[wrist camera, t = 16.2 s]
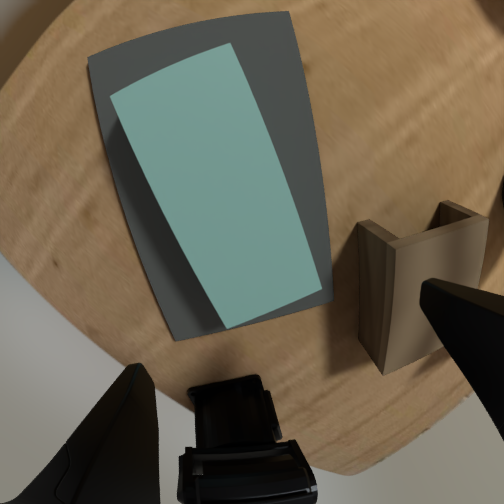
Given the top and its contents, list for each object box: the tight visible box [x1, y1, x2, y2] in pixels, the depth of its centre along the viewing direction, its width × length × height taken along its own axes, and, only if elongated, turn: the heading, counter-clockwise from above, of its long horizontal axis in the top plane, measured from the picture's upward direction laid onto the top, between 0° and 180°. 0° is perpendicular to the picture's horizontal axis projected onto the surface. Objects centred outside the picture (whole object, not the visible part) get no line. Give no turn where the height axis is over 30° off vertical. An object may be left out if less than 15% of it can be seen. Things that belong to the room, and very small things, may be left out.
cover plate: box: [110, 43, 322, 329], centre depth 15 cm, size 6×14×3 cm, turn 22°
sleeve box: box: [357, 200, 489, 376], centre depth 20 cm, size 9×11×5 cm
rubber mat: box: [87, 11, 334, 341], centre depth 17 cm, size 12×20×1 cm, turn 12°
